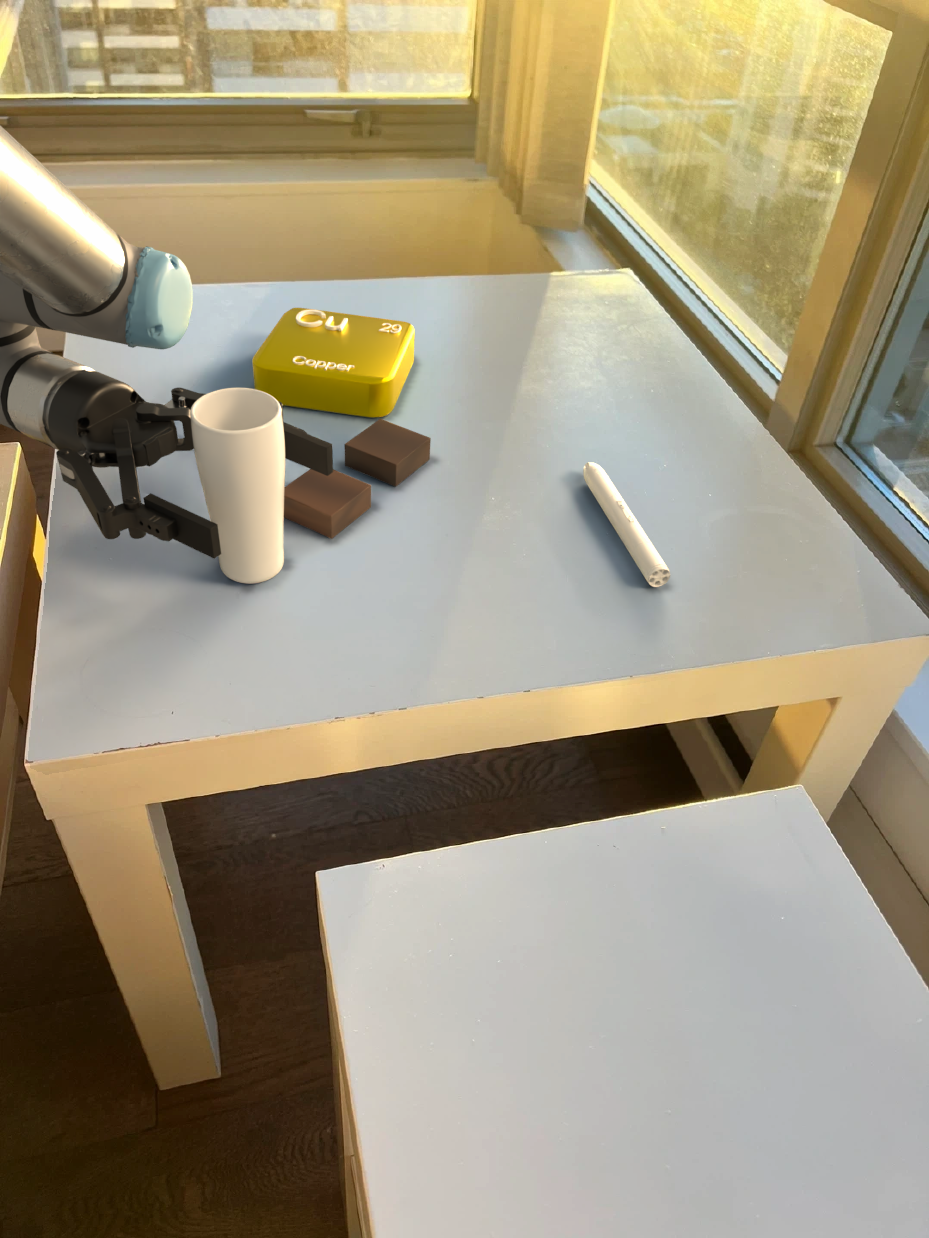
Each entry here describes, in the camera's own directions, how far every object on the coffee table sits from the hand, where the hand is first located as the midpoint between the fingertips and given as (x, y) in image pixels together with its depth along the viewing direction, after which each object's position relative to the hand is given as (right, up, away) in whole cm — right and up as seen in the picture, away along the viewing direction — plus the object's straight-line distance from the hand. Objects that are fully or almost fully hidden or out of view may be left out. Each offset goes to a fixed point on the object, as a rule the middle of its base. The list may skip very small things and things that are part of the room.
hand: (276, 498), depth 74 cm
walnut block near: (+2, 0, +13) cm, 13 cm away
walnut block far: (+7, +6, +20) cm, 22 cm away
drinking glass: (-3, -5, +7) cm, 9 cm away
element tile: (0, +17, +32) cm, 36 cm away
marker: (+29, -1, +15) cm, 32 cm away
